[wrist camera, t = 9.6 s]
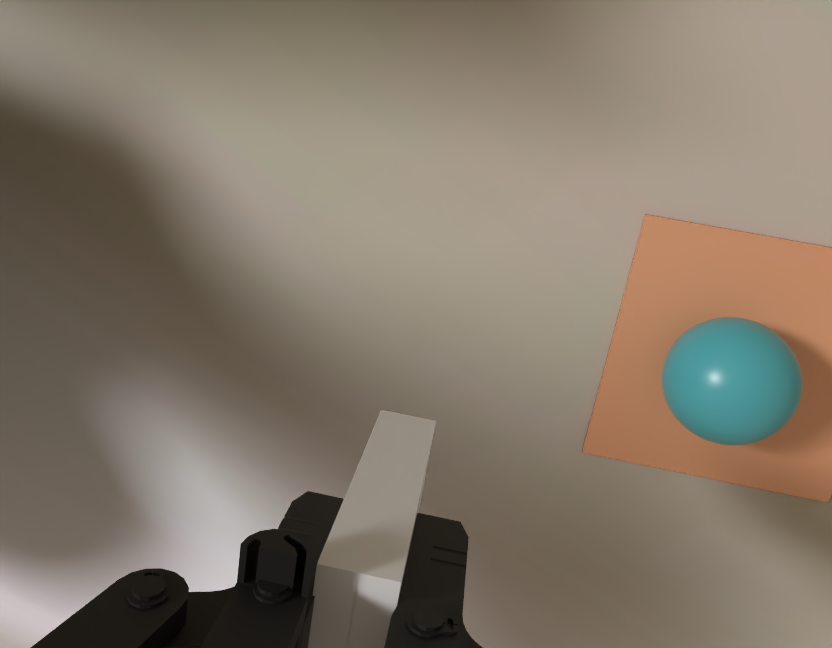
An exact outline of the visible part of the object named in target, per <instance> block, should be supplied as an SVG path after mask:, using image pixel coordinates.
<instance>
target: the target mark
mask: <svg viewBox="0 0 832 648" xmlns="http://www.w3.org/2000/svg"><path fill="white" fill-rule="evenodd" d="M723 317H737V318H744V319H748V320H752V321H755V322H758V323H760V324H763V325H765V326H767V327H768V328H770V329H772V330H773V331H774V332H776V333H777V334H778V335H780V336H781V337H782V338H783V339H784V340H785V341H786V342H787V344H788V345H789V346H790V347H791V349H792V350H793V352H794V354H795V355H796V358H797V360H798V362H799V365H800V368H801V373H802V385H803V388H802V395H801V399H800V402H799V405H798V407H797V409H796V411H795V413H794V415H793V416H792V418H791V419H790V421H789V422H788V423H787V424H786V425H785V426H784V427H783V428H782V429H780V430H779V431H778V432H777V433H775V434H774V435H772V436H770V437H769V438H766V439H764V440H762V441H759V442H756V443H752V444H747V445H722V444H717V443H714V442H710V441H707V440H705V439H702V438H700V437H698V436H696V435H695V434H693V433H692V432H690V431H689V430H688V429H686V428H685V427H684V426H683V425H682V424H681V423H680V422H679V421H678V420H677V419H676V418H675V416H674V415H673V414H672V412H671V410H670V409H669V407H668V405H667V402H666V400H665V397H664V393H663V388H662V370H663V365H664V361H665V359H666V356H667V354H668V352H669V350H670V348H671V347H672V346H673V344H674V343H675V341H676V340H677V339H678V338H679V337H680V336H681V335H682V334H684V333H685V332H686V331H687V330H689V329H690V328H692V327H694V326H695V325H697V324H700V323H702V322H705V321H707V320H711V319H715V318H723ZM582 453H586V454H591V455H596V456H601V457H605V458H610V459H615V460H620V461H625V462H630V463H635V464H640V465H645V466H650V467H655V468H660V469H665V470H670V471H674V472H679V473H684V474H689V475H694V476H699V477H704V478H709V479H714V480H719V481H724V482H729V483H734V484H739V485H743V486H748V487H753V488H758V489H763V490H768V491H773V492H778V493H783V494H788V495H793V496H798V497H803V498H808V499H812V500H817V501H822V502H827V503H828V502H829V500H830V497H831V495H832V248H831V247H826V246H820V245H815V244H809V243H803V242H798V241H792V240H787V239H781V238H775V237H770V236H764V235H759V234H753V233H747V232H742V231H736V230H731V229H725V228H719V227H714V226H708V225H703V224H697V223H691V222H686V221H680V220H675V219H669V218H663V217H658V216H652V215H646V214H645V217H644V221H643V224H642V228H641V232H640V236H639V239H638V243H637V247H636V251H635V254H634V258H633V262H632V266H631V269H630V273H629V277H628V281H627V284H626V288H625V292H624V296H623V299H622V303H621V307H620V311H619V314H618V318H617V322H616V326H615V329H614V333H613V337H612V341H611V344H610V348H609V352H608V356H607V359H606V363H605V367H604V371H603V374H602V378H601V382H600V386H599V389H598V393H597V397H596V401H595V404H594V408H593V412H592V416H591V419H590V423H589V427H588V431H587V434H586V438H585V442H584V446H583V449H582Z"/></svg>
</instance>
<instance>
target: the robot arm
mask: <svg viewBox="0 0 832 648" xmlns="http://www.w3.org/2000/svg"><path fill="white" fill-rule="evenodd" d="M435 425H436V421H435V420H430V419H425V418H420V417H415V416H410V415H405V414H400V413H395V412H390V411H385V410H381V411H380V413H379V416H378V418H377V420H376V423H375V425H374V428H373V430H372V432H371V435H370V437H369V440H368V442H367V444H366V447H365V449H364V452H363V454H362V457H361V459H360V461H359V464H358V466H357V469H356V471H355V473H354V476H353V478H352V481H351V483H350V485H349V488H348V490H347V493H346V495H345V498H344V499H342V498H337V497H333V496H328V495H323V494H319V493H314V492H309V491H308V492H306V493H305V494H303V495H302V496H300V497H299V498H297V499H296V500H294V501H293V502H292V503H291V505H290V507H289V509H288V511H287V513H286V514H285V517H284V518H283V520H282V522H281V524H280V525H279V528H278V529H271V530H264V531H259V532H257V533H255V534H253V535H250V536H248V537H247V538H246V539H245V540H244V541H243V542H242V543H241V548H240V558H239V568H238V579H237V583H236V585H235V587H233V588H229V589H225V590H222V591H212V592H188V591H189V587H188V585H187V583H186V581H185V580H184V578H182V577H181V576H179V575H178V574H177V573H175V572H172V571H169V570H165V569H143V570H139V571H136V572H132V573H130V574H128V575H126V576H124V577H122V578H121V579H119V580H117V581H116V582H115V583H114V584H112V585H111V586H110V587H108V588H107V589H106V590H104V591H103V592H102V593H101V594H99V595H98V596H97V597H95V598H94V599H93V600H92V601H90V602H89V603H88V604H86V605H85V606H84V607H83V608H81V609H80V610H79V611H77V612H76V613H75V614H74V615H72V616H71V617H70V618H68V619H67V620H66V621H65V622H63V623H62V624H61V625H59V626H58V627H57V628H56V629H54V630H53V631H52V632H50V633H49V634H48V635H47V636H45V637H44V638H43V639H41V640H40V641H39V642H37V643H36V644H35V645H34V646H32V647H31V648H482V647H481V646H480V645H479V644H477V643H476V642H475V641H474V640H473V639H472V638H471V636H470V635H469V634H468V632H467V631H466V629H465V626H464V624H463V617H462V611H463V599H464V587H465V574H466V562H467V550H468V536H467V534H466V532H465V530H464V528H463V526H462V524H461V522H458V521H454V520H449V519H444V518H439V517H435V516H430V515H425V514H421V513H419V510H420V505H421V499H422V494H423V489H424V483H425V478H426V473H427V468H428V462H429V457H430V452H431V446H432V441H433V436H434V431H435Z"/></svg>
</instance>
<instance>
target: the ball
mask: <svg viewBox="0 0 832 648" xmlns="http://www.w3.org/2000/svg"><path fill="white" fill-rule="evenodd" d="M662 388H663V393H664V397H665V400H666V402H667V405H668V407H669V409H670V410H671V412H672V414H673V415H674V416H675V418H676V419H677V420H678V421H679V422H680V423H681V424H682V425H683V426H684V427H685V428H686V429H688V430H689V431H690V432H692V433H693V434H695V435H696V436H698V437H700V438H702V439H705V440H707V441H710V442H714V443H717V444H722V445H747V444H752V443H756V442H759V441H762V440H764V439H766V438H769V437H770V436H772V435H774V434H775V433H777V432H778V431H779V430H780V429H782V428H783V427H784V426H785V425H786V424H787V423H788V422H789V421H790V419H791V418H792V416H793V415H794V413H795V411H796V409H797V407H798V405H799V402H800V399H801V395H802V388H803V385H802V373H801V368H800V365H799V362H798V360H797V358H796V355H795V354H794V352H793V350H792V349H791V347H790V346H789V345H788V344H787V342H786V341H785V340H784V339H783V338H782V337H781V336H780V335H778V334H777V333H776V332H774V331H773V330H772V329H770V328H768V327H767V326H765V325H763V324H760V323H758V322H755V321H752V320H748V319H744V318H737V317H723V318H715V319H711V320H707V321H705V322H702V323H700V324H697V325H695V326H694V327H692V328H690V329H689V330H687V331H686V332H685V333H684V334H682V335H681V336H680V337H679V338H678V339H677V340H676V341H675V343H674V344H673V346H672V347H671V348H670V350H669V352H668V354H667V356H666V359H665V361H664V365H663V370H662Z"/></svg>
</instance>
